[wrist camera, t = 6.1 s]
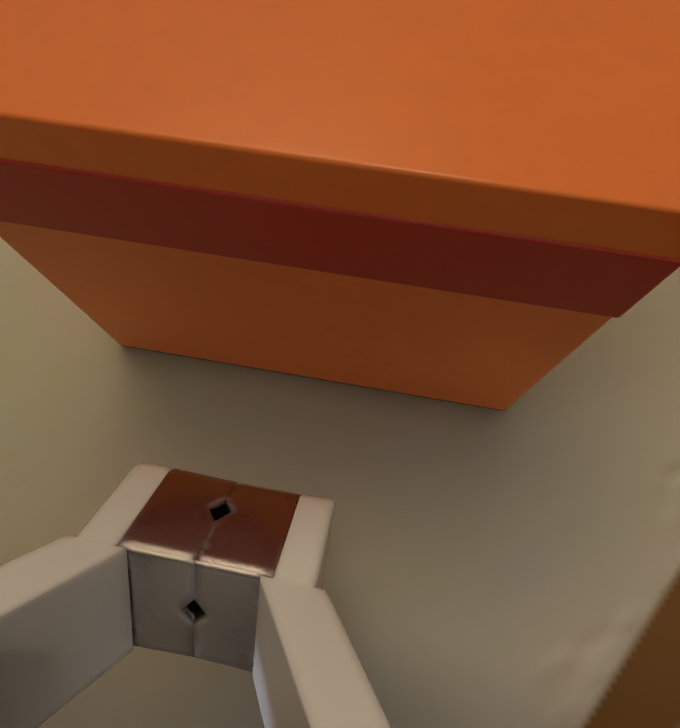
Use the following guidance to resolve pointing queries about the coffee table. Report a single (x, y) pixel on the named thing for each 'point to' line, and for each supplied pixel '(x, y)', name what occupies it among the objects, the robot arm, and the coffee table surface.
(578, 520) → the coffee table surface
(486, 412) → the coffee table surface
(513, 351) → the orange lidded box
